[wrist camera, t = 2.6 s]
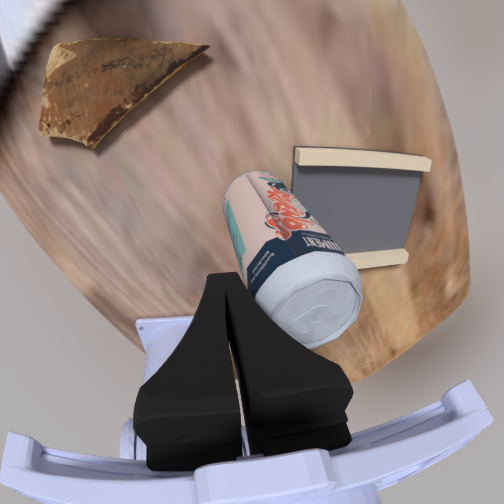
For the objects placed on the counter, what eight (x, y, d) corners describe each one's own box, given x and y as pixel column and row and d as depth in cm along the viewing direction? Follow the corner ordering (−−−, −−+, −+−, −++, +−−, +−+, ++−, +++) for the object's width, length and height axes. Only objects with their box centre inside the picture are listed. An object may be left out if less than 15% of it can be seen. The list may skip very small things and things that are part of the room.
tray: (398, 254, 26) (406, 263, 25) (285, 265, 25) (290, 276, 24) (420, 155, 21) (431, 160, 20) (293, 146, 20) (300, 150, 18)
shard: (209, 48, 16) (210, 44, 14) (187, 154, 19) (185, 161, 18) (60, 43, 13) (49, 40, 11) (47, 143, 17) (36, 149, 15)
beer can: (298, 203, 22) (384, 309, 12) (249, 241, 23) (299, 368, 13) (260, 155, 20) (343, 242, 10) (207, 198, 20) (233, 323, 10)
